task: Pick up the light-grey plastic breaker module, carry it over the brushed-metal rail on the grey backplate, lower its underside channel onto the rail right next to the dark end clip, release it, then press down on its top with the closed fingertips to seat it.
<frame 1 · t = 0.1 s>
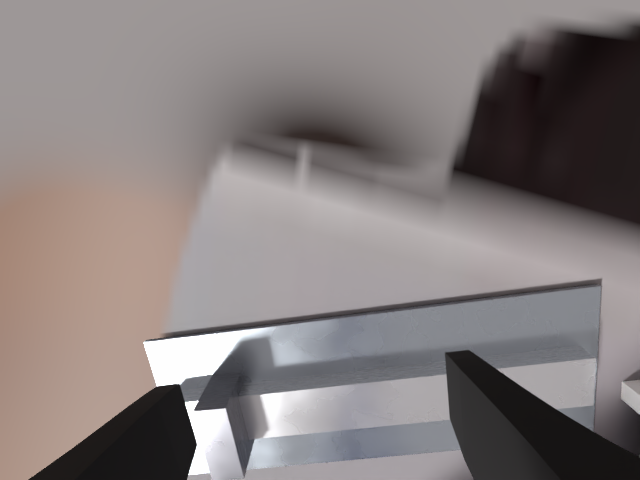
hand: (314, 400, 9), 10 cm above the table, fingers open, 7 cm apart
rail: (370, 387, 20), on the table
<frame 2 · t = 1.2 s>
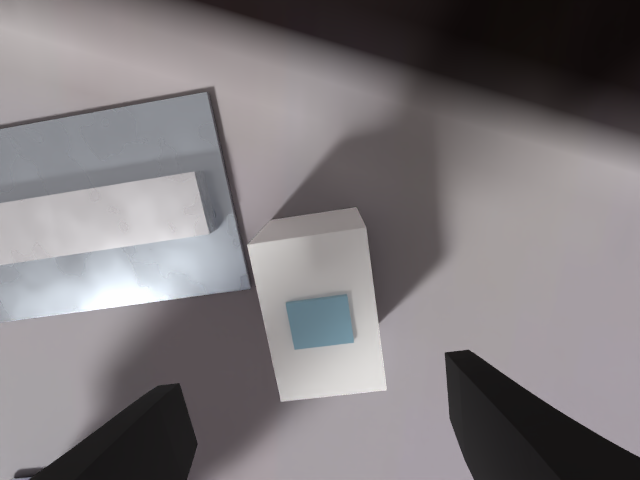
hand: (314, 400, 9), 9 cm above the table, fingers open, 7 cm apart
module: (323, 276, 18), on the table
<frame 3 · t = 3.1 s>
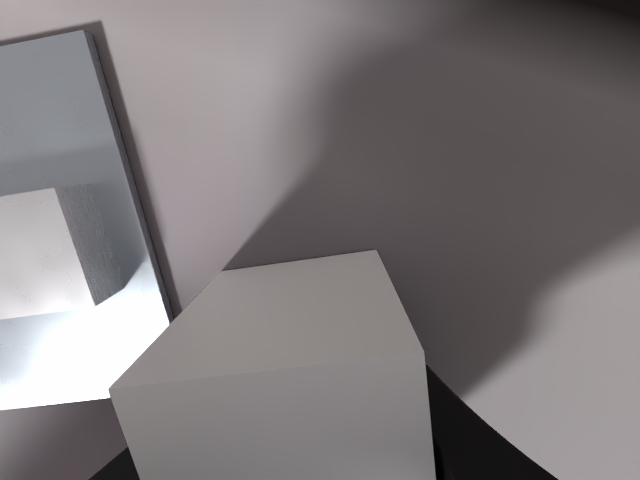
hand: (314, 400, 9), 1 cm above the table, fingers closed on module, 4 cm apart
module: (316, 367, 10), on the table, touching gripper
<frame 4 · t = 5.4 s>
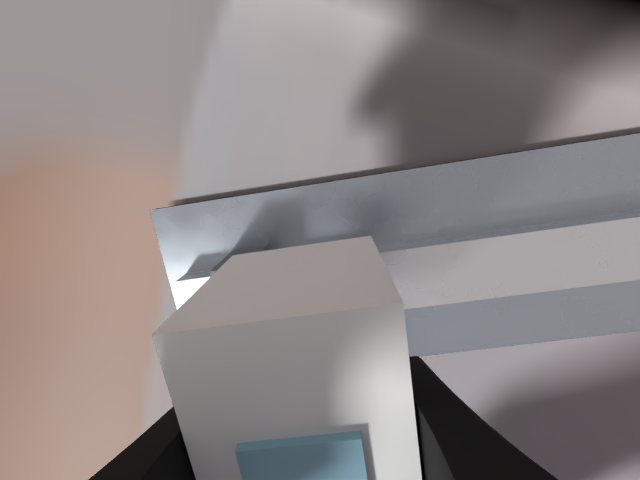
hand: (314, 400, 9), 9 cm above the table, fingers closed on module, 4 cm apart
module: (317, 342, 11), point 6 cm above the table, touching gripper
rail: (418, 266, 17), on the table
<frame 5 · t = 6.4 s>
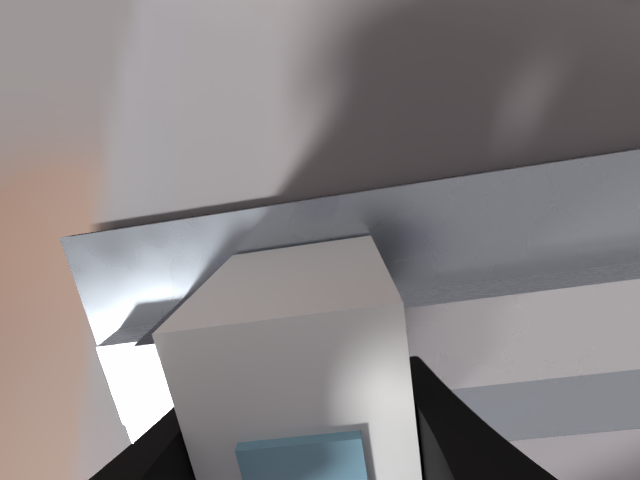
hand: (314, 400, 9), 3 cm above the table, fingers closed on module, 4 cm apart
module: (317, 342, 11), point 1 cm above the table, touching gripper
rail: (460, 320, 12), on the table
when the fingers open (3 cm above the table, at t = 8.2 s): module stays where it is, resting on rail.
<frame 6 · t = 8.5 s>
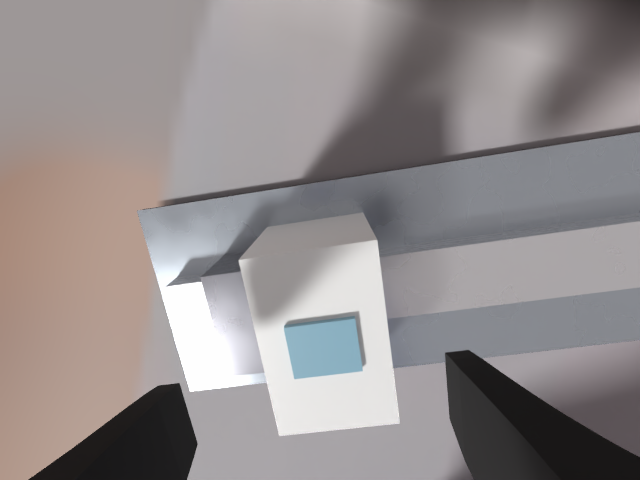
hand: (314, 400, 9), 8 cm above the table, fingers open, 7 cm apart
module: (326, 289, 16), resting on rail
rail: (423, 270, 16), on the table
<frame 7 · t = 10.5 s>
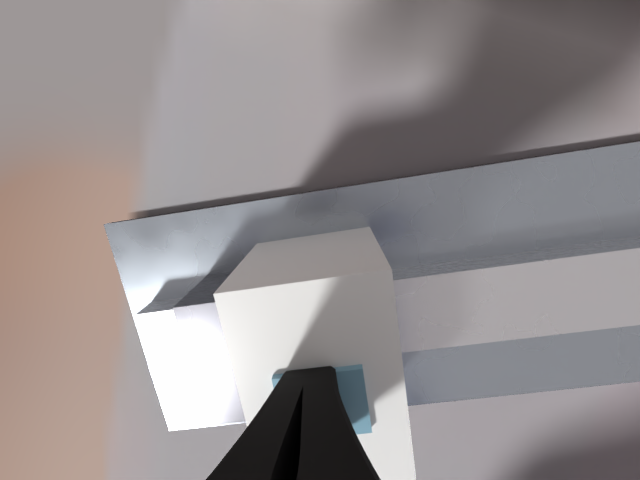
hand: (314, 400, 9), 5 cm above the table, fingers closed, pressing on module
module: (326, 315, 14), resting on rail, touching gripper
rail: (440, 294, 14), on the table
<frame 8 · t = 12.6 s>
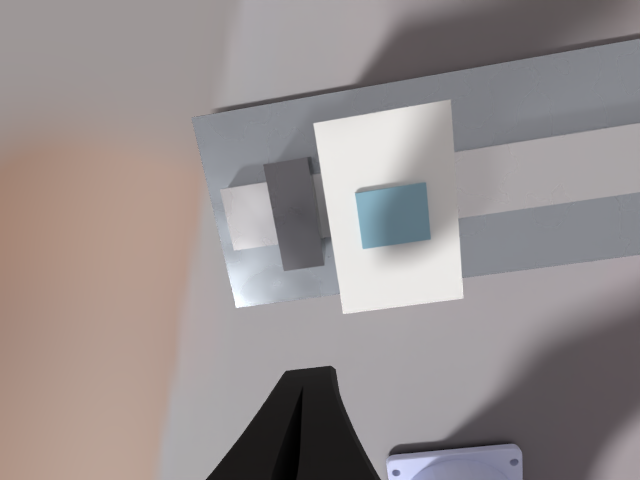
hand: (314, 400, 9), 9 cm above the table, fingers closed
module: (375, 198, 17), resting on rail
rail: (470, 179, 16), on the table
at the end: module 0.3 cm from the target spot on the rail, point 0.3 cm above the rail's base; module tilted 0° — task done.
